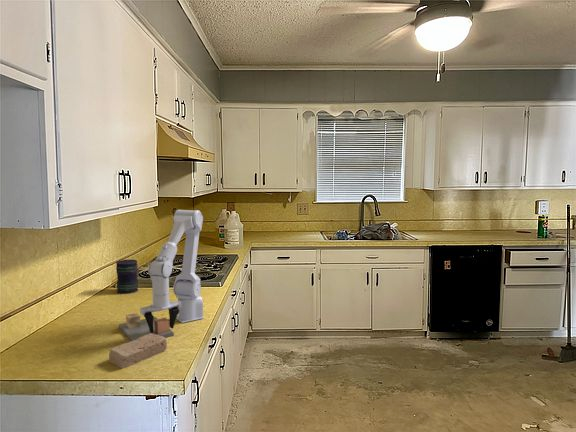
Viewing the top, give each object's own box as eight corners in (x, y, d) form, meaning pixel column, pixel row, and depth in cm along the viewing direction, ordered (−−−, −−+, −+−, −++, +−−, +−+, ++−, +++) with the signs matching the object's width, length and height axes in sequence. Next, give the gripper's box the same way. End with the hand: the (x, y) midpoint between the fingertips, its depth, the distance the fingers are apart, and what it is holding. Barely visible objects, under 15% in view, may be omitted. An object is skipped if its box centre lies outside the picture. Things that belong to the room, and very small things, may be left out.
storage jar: (141, 291, 206) (140, 261, 204) (121, 295, 199) (120, 264, 198) (133, 287, 213) (132, 258, 212) (113, 290, 206) (112, 261, 205)
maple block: (137, 323, 159) (137, 313, 159) (140, 326, 156) (140, 315, 155) (126, 325, 157) (126, 315, 156) (129, 328, 154) (129, 318, 153)
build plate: (155, 319, 166) (155, 316, 166) (173, 335, 150) (173, 332, 150) (119, 327, 158) (118, 324, 158) (134, 344, 142) (133, 341, 142)
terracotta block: (165, 328, 154) (164, 317, 154) (169, 331, 151) (168, 320, 151) (154, 330, 152) (154, 319, 152) (158, 333, 149) (157, 322, 148)
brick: (123, 369, 125) (123, 354, 124) (107, 362, 129) (107, 347, 129) (168, 351, 138) (167, 337, 138) (152, 345, 143) (152, 332, 142)
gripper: (143, 299, 143) (145, 337, 144) (184, 292, 151) (184, 328, 153) (137, 294, 148) (138, 331, 150) (177, 288, 157) (177, 323, 158)
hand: (161, 329), depth 152 cm, fingers open, 7 cm apart
